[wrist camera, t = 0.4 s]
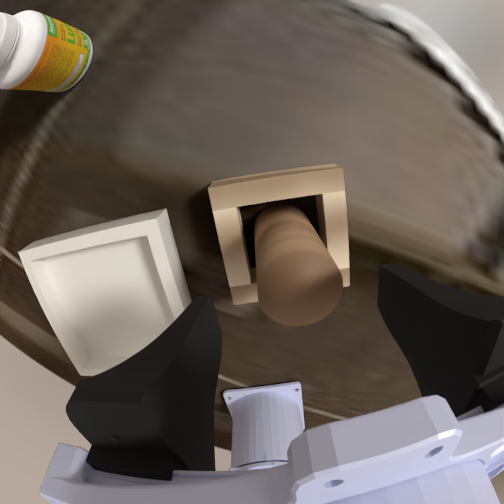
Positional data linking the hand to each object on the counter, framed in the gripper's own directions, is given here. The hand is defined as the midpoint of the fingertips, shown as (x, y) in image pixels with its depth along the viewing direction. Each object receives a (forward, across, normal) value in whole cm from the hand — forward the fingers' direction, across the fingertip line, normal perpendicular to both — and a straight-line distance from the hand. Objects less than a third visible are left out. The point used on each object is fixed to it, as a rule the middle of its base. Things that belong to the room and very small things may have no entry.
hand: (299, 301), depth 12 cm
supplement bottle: (+10, +14, -17) cm, 24 cm away
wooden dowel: (+10, 0, 0) cm, 10 cm away
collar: (+10, 0, 0) cm, 10 cm away
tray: (+10, +15, +4) cm, 19 cm away
